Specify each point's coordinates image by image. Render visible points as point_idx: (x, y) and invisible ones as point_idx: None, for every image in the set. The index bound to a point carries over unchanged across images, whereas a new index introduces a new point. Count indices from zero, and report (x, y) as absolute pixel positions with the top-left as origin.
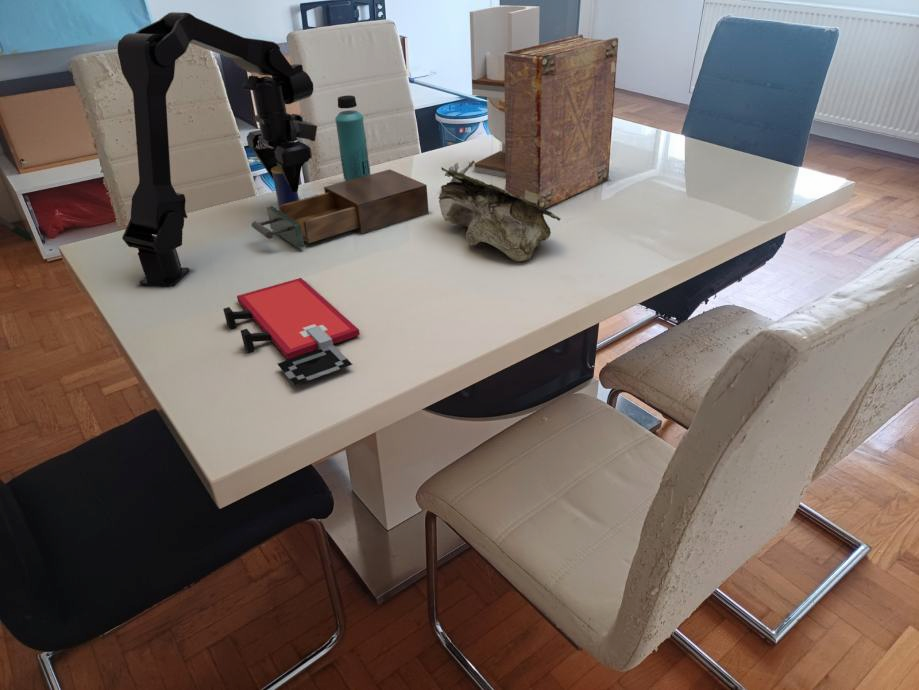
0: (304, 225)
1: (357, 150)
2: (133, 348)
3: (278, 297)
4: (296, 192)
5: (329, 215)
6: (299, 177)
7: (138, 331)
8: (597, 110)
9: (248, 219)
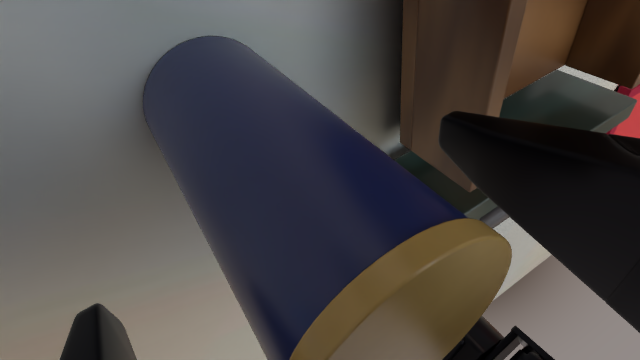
0: (619, 81)
1: None
2: (541, 261)
3: (632, 129)
4: (321, 105)
5: None
6: (592, 133)
7: (521, 272)
8: None
9: (200, 280)
